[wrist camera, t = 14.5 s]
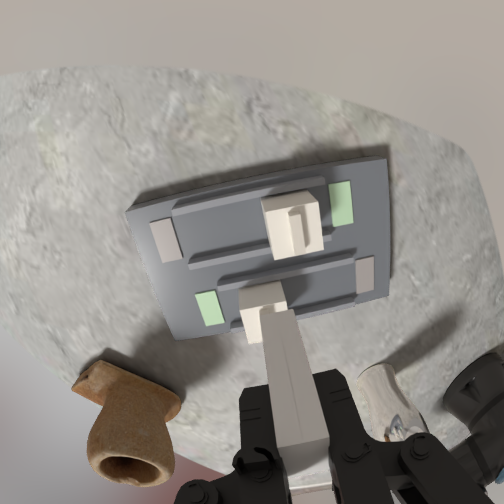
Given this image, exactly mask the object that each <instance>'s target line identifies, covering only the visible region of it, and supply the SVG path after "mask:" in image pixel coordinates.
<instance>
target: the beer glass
mask: <svg viewBox="0 0 504 504" xmlns="http://www.w3.org/2000/svg"><path fill="white" fill-rule="evenodd" d="M356 385H357V388H358V390H359V391H360V393H361V394H362V395H363V397H364V399H365V401H366V403H367V406H368V410H369V416H370V422H371V428H372V433H373V437H374V439H375V440H378V441H382V442H394V441H405V440H406V439H407V438H408V437H409V436H410V435H413V434H415V433H419V432H426V433H430V432H429V429H428V427H427V425H426V422H425V420H424V418H423V417H422V415H421V413H420V412H419V410H418V409H417V407H416V406H415V405H414V404H413V402H412V401H411V400H410V399H409V398H408V396H407V395H406V394H405V393H404V391H403V390H402V389H401V387H400V386H399V384H398V381H397V379H396V375H395V371H394V369H393V367H392V366H391V365H390V364H386V363H381V364H377V365H374V366H372V367H370V368H368V369H366V370H365V371H364V372H363V373H362V374H361V375H360V376H359V378H358V379H357V383H356Z"/></svg>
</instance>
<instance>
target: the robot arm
mask: <svg viewBox="0 0 504 504" xmlns="http://www.w3.org/2000/svg"><path fill="white" fill-rule="evenodd" d="M259 317H260V325H261V332H262V340H263V347H264V354H265V362H266V369H267V376H268V384H267V385H261V386H255V387H249V388H244V389H243V392H242V394H241V396H240V398H239V411H240V434H241V449H240V450H239V451H238V452H237V453H236V455H235V456H234V458H233V463H232V465H233V467H234V468H235V470H234V471H233V472H232V473H230V474H228V475H226V476H224V477H221V478H219V479H216V480H213V481H211V482H208V481H205V480H192V481H189V482H187V483H185V484H184V485H183V486H181V488H180V490H179V491H178V493H177V496H176V499H175V502H174V504H292V497H291V492H290V490H289V483H288V479H292V478H297V477H302V476H307V475H312V474H317V473H321V472H325V471H330V472H331V476H332V491H334V494H335V498H336V503H337V504H394V501H393V498H392V495H391V492H390V490H392V491H393V493H394V494H395V496H396V497H397V499H398V500H399V501H400V503H401V504H494V503H493V502H492V501H491V499H490V498H489V497H488V493H487V491H486V489H485V487H486V486H487V485H489V484H490V483H492V482H493V481H495V483H497V484H501V483H502V482H503V481H504V361H503V360H502V358H501V357H500V356H499V355H498V354H496V353H491V354H488V355H485V356H483V357H481V358H480V359H478V360H477V361H475V362H474V363H472V364H471V365H470V366H469V367H467V368H466V369H465V370H464V371H463V372H462V373H461V374H460V375H459V376H458V377H457V378H456V379H455V380H454V381H453V383H452V384H451V385H450V387H449V388H448V390H447V391H446V393H445V395H444V398H443V403H444V405H445V407H446V409H447V410H448V411H449V412H450V413H451V414H452V415H454V416H455V417H456V418H457V419H459V420H460V421H461V422H462V423H464V424H465V425H466V426H467V427H468V429H469V431H470V433H471V436H469V437H468V438H467V439H465V440H464V441H462V442H461V443H459V444H458V445H456V446H455V447H453V448H452V449H450V450H449V451H448V450H447V449H446V448H445V447H444V446H443V444H442V443H441V442H440V441H439V440H438V439H437V438H436V437H435V436H433V435H432V434H430V433H426V432H419V433H415V434H413V435H410V436H409V437H408V438H407V439H406V440H405V441H394V442H382V441H378V440H375V439H373V438H372V437H370V436H369V435H368V434H367V433H366V431H365V429H364V427H363V424H362V421H361V419H360V416H359V413H358V410H357V408H356V405H355V402H354V400H353V398H352V394H351V392H350V390H349V386H348V384H347V381H346V378H345V377H344V376H343V375H342V374H341V373H340V372H339V371H338V370H337V369H332V370H328V371H324V372H320V373H316V374H312V372H311V369H310V365H309V362H308V358H307V355H306V351H305V348H304V344H303V341H302V337H301V334H300V331H299V327H298V324H297V320H296V317H295V314H294V310H293V309H290V310H285V311H280V312H275V313H270V314H265V315H260V316H259Z"/></svg>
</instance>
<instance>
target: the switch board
mask: <svg viewBox="0 0 504 504" xmlns="http://www.w3.org/2000/svg"><path fill="white" fill-rule="evenodd" d="M302 189H307V190H308V192H309V193H310V194H311V195H312V196H313V197H314V198H315V199H316V200H317V201H318V204H319V212H320V220H321V228H322V237H323V246H324V250H321V251H316V252H311V253H307V254H303V255H298V256H292V257H288V258H283V259H278V260H274V257H273V254H272V250H271V247H270V244H269V240H268V235H267V230H266V225H265V220H264V215H263V210H262V205H261V200H260V198H261V197H266V196H271V195H276V194H281V193H286V192H292V191H297V190H302ZM125 215H126V218H127V221H128V224H129V226H130V229H131V232H132V235H133V238H134V241H135V244H136V246H137V249H138V252H139V255H140V257H141V260H142V263H143V265H144V268H145V271H146V273H147V276H148V278H149V281H150V283H151V286H152V288H153V291H154V293H155V296H156V298H157V301H158V303H159V305H160V308H161V310H162V312H163V315H164V317H165V319H166V322H167V324H168V326H169V329H170V331H171V333H172V335H173V337H174V340H175V341H179V340H186V339H192V338H199V337H205V336H211V335H216V334H222V333H228V332H231V333H237V332H242V331H245V328H244V325H243V321H242V318H241V314H240V310H239V292H238V288H240V287H245V286H250V285H255V284H260V283H265V282H269V281H274V280H279V279H280V281H281V285H282V288H283V292H284V295H285V299H286V303H287V309H288V310H290V309H293V310H294V314H295V317H296V320H300V319H305V318H309V317H313V316H318V315H322V314H326V313H330V312H334V311H338V310H342V309H346V308H350V307H354V306H355V305H356V304H360V303H363V302H367V301H371V300H375V299H378V298H382V297H385V296H389V283H390V204H389V184H388V170H387V159H386V158H383V157H380V156H370V157H362V158H355V159H348V160H342V161H335V162H329V163H323V164H317V165H311V166H305V167H299V168H294V169H288V170H283V171H277V172H272V173H267V174H262V175H257V176H252V177H247V178H243V179H238V180H233V181H229V182H224V183H220V184H215V185H211V186H207V187H202V188H198V189H194V190H190V191H186V192H182V193H178V194H174V195H170V196H166V197H162V198H158V199H155V200H151V201H147V202H143V203H140V204H136V205H133V206H131V207H130V208H129V209H128V210H127V211H126V212H125Z"/></svg>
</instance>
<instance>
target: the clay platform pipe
mask: <svg viewBox="0 0 504 504" xmlns="http://www.w3.org/2000/svg"><path fill="white" fill-rule="evenodd" d="M72 391H74V392H76V393H78V394H80V395H81V396H83V397H85V398H87V399H89V400H91V401H93V402H95V403H97V404H99V405H101V406H103V408H102V410H101V412H100V414H99V415H98V417H97V419H96V421H95V423H94V425H93V427H92V429H91V431H90V433H89V437H88V441H87V456H88V460H89V463H90V465H91V467H92V468H93V470H94V471H96V473H98V474H99V475H100V476H102V477H103V478H105V479H107V480H109V481H112V482H116V483H127V484H131V485H134V486H138V487H150V486H156V485H159V484H162V483H164V482H166V481H167V480H168V479H170V478H171V476H172V474H173V472H174V467H175V458H174V452H173V446H172V442H171V438H170V435H169V432H168V429H167V427H166V424H165V423H166V422H168V421H170V420H171V419H173V418H174V417H175V416H176V415H177V414H178V413H179V411H180V409H181V399H180V398H179V397H178V396H177V395H176V394H175V393H173V392H171V391H170V390H168V389H166V388H164V387H162V386H160V385H158V384H156V383H154V382H151V381H149V380H147V379H144V378H142V377H139V376H137V375H135V374H133V373H130V372H128V371H126V370H123V369H121V368H119V367H117V366H115V365H112V364H110V363H108V362H106V361H103V360H99V361H97V362H95V363H94V364H93V365H92V366H90V367H89V368H88V370H86V371H84V372H83V373H82V374H81V375H80V376H79V378H78V379H77V380H76V382H75V384H74V385H73V386H72Z"/></svg>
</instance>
